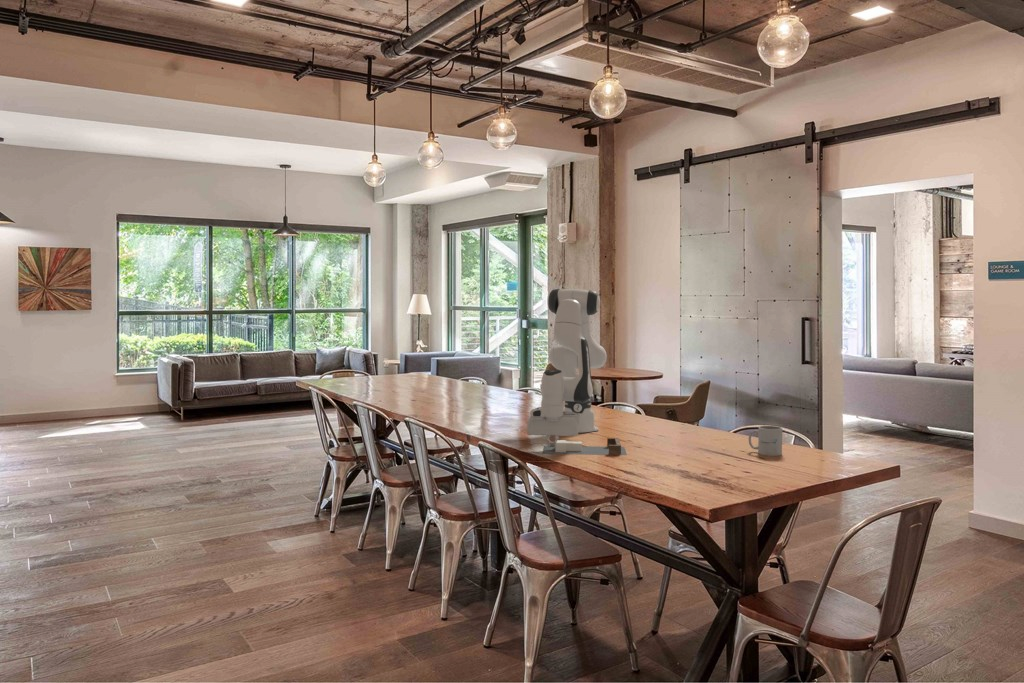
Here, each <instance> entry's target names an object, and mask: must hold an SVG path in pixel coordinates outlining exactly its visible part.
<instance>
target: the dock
mask: <svg viewBox="0 0 1024 683" xmlns="http://www.w3.org/2000/svg"><path fill="white" fill-rule="evenodd" d="M606 445H607V446H606V447H609V455H608V456H622V455H621V447H622V445H621V442H620V438H619V437H607V444H606Z"/></svg>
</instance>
